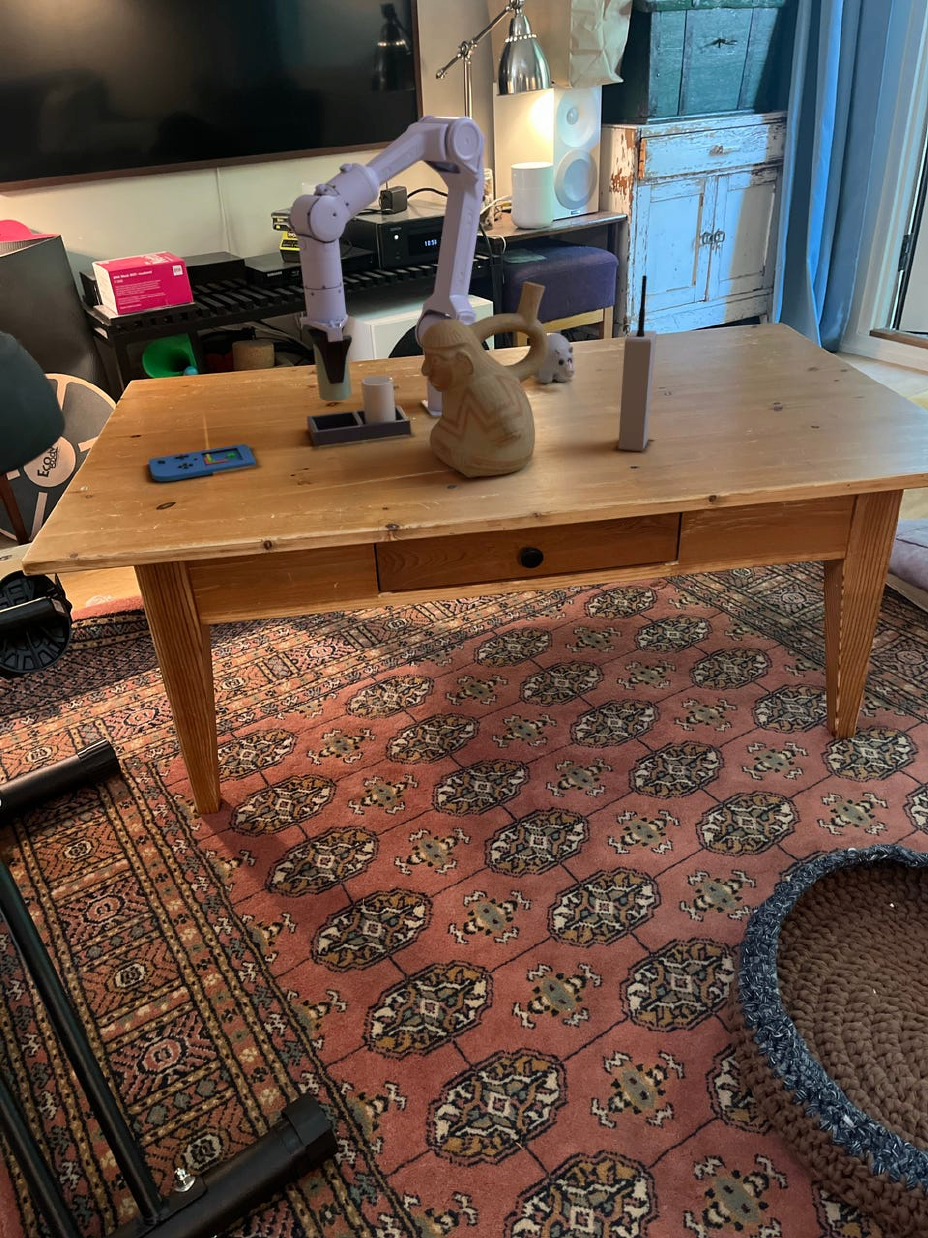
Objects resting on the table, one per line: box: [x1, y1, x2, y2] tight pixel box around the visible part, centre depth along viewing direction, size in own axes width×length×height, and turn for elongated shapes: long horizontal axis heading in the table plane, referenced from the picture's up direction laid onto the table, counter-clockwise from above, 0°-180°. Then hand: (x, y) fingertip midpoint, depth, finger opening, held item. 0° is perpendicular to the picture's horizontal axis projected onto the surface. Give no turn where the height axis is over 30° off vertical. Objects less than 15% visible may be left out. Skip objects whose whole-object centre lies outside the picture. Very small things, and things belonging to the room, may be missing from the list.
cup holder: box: [306, 404, 412, 447], centre depth 146 cm, size 15×8×3 cm, turn 106°
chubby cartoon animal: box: [532, 332, 576, 384], centre depth 163 cm, size 7×12×8 cm, turn 16°
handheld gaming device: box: [148, 443, 257, 482], centre depth 137 cm, size 8×1×15 cm
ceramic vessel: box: [420, 281, 548, 479], centre depth 128 cm, size 17×20×25 cm
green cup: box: [312, 343, 353, 402], centre depth 138 cm, size 5×5×8 cm
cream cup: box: [361, 375, 396, 425], centre depth 145 cm, size 5×5×8 cm
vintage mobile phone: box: [618, 274, 657, 452], centre depth 132 cm, size 4×5×25 cm
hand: (333, 377), depth 139 cm, fingers closed on green cup, 5 cm apart
